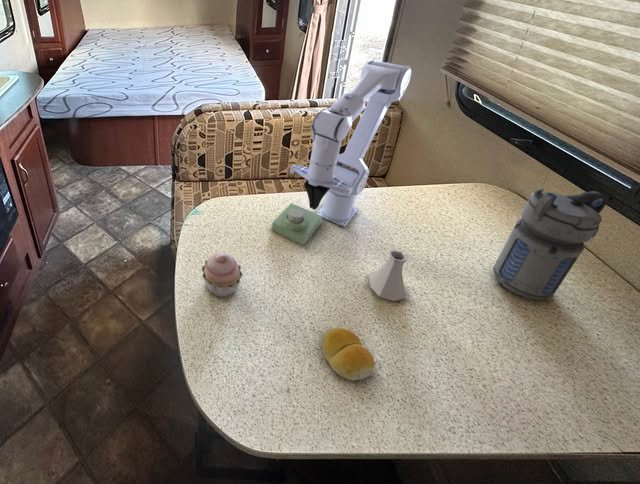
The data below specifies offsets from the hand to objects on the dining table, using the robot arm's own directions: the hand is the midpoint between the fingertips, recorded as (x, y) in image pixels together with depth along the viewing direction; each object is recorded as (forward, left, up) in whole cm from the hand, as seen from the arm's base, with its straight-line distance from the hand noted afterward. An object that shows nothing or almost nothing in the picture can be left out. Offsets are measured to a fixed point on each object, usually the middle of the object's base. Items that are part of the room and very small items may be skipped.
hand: (313, 206), depth 93 cm
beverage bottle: (-17, +42, -10) cm, 46 cm away
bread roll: (+26, +19, -10) cm, 34 cm away
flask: (+4, +20, -10) cm, 23 cm away
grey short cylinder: (0, -4, -6) cm, 7 cm away
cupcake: (+28, -8, -10) cm, 31 cm away
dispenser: (-2, -4, -10) cm, 11 cm away
